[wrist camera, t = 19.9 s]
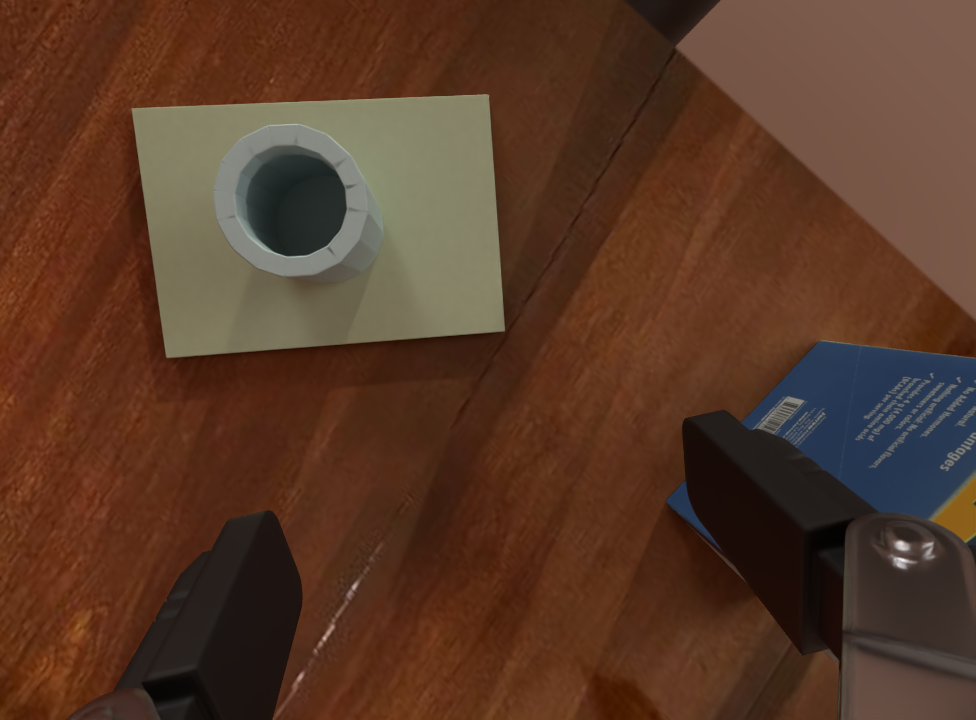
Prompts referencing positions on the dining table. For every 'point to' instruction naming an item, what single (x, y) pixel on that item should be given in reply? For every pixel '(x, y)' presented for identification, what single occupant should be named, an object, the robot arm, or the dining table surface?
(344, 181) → the cylindrical container
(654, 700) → the dining table surface
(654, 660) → the dining table surface
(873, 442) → the protein box
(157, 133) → the mat
